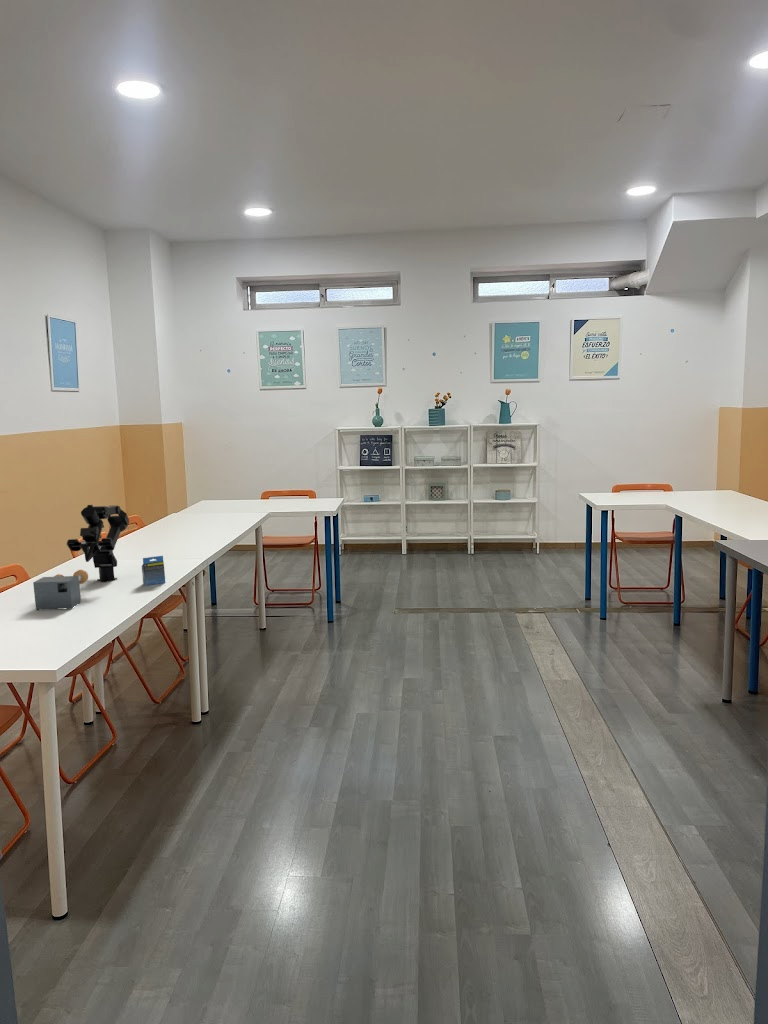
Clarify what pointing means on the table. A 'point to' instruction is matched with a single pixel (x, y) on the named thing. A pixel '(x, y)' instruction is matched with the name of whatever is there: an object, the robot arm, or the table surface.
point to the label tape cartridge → (153, 570)
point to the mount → (57, 592)
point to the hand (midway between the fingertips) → (86, 561)
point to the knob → (82, 577)
